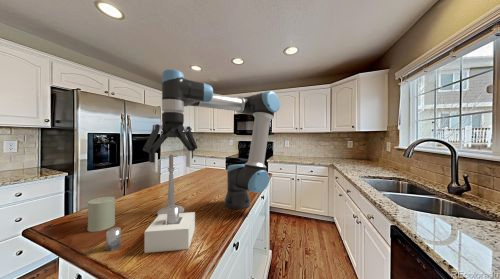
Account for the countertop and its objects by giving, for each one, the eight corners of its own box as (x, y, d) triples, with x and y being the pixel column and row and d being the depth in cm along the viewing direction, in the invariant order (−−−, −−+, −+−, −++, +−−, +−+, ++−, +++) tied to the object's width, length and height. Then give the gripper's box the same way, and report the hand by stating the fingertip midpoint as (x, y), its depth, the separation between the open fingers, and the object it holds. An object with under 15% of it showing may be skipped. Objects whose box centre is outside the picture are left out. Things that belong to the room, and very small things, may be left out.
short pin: (123, 243, 64) (123, 226, 64) (116, 250, 60) (116, 232, 60) (110, 244, 64) (110, 227, 64) (103, 251, 60) (103, 233, 60)
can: (92, 234, 70) (92, 204, 70) (83, 228, 75) (84, 199, 75) (119, 224, 78) (119, 197, 78) (110, 219, 83) (110, 194, 83)
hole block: (194, 228, 75) (194, 212, 75) (188, 249, 61) (188, 228, 61) (159, 231, 73) (159, 214, 73) (144, 252, 59) (144, 231, 59)
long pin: (179, 236, 69) (179, 205, 69) (177, 241, 65) (177, 209, 65) (169, 236, 69) (169, 205, 69) (165, 242, 65) (165, 209, 65)
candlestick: (183, 215, 88) (184, 154, 88) (155, 218, 84) (155, 155, 84) (184, 206, 100) (184, 153, 101) (159, 209, 96) (159, 153, 96)
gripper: (194, 116, 79) (194, 164, 79) (131, 109, 59) (131, 173, 59) (205, 115, 75) (206, 165, 75) (141, 106, 55) (141, 175, 55)
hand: (173, 169), depth 67 cm, fingers open, 13 cm apart
